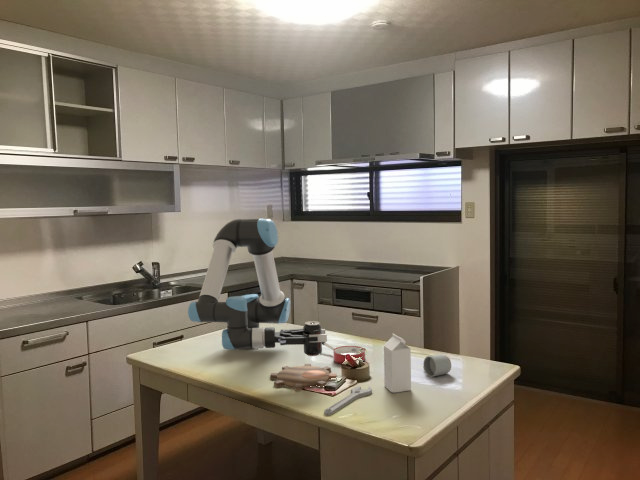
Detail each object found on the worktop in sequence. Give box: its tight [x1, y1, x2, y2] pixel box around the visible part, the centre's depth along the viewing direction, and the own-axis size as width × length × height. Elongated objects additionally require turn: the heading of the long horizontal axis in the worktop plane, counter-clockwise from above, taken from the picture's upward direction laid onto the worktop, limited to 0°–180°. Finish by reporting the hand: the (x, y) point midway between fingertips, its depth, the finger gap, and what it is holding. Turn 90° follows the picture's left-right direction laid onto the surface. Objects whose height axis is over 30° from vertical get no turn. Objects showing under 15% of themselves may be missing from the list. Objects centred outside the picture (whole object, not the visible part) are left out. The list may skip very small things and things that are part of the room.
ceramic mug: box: [422, 354, 452, 378], centre depth 200 cm, size 11×8×8 cm
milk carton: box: [383, 333, 412, 394], centre depth 185 cm, size 7×7×19 cm
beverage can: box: [302, 320, 323, 357], centre depth 197 cm, size 7×7×12 cm
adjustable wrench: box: [323, 385, 373, 416], centre depth 176 cm, size 25×6×2 cm, turn 140°
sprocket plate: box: [269, 363, 338, 392], centre depth 199 cm, size 25×25×2 cm
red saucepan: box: [322, 342, 366, 365], centre depth 225 cm, size 32×13×6 cm, turn 45°
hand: (325, 335), depth 197 cm, fingers closed on beverage can, 7 cm apart
